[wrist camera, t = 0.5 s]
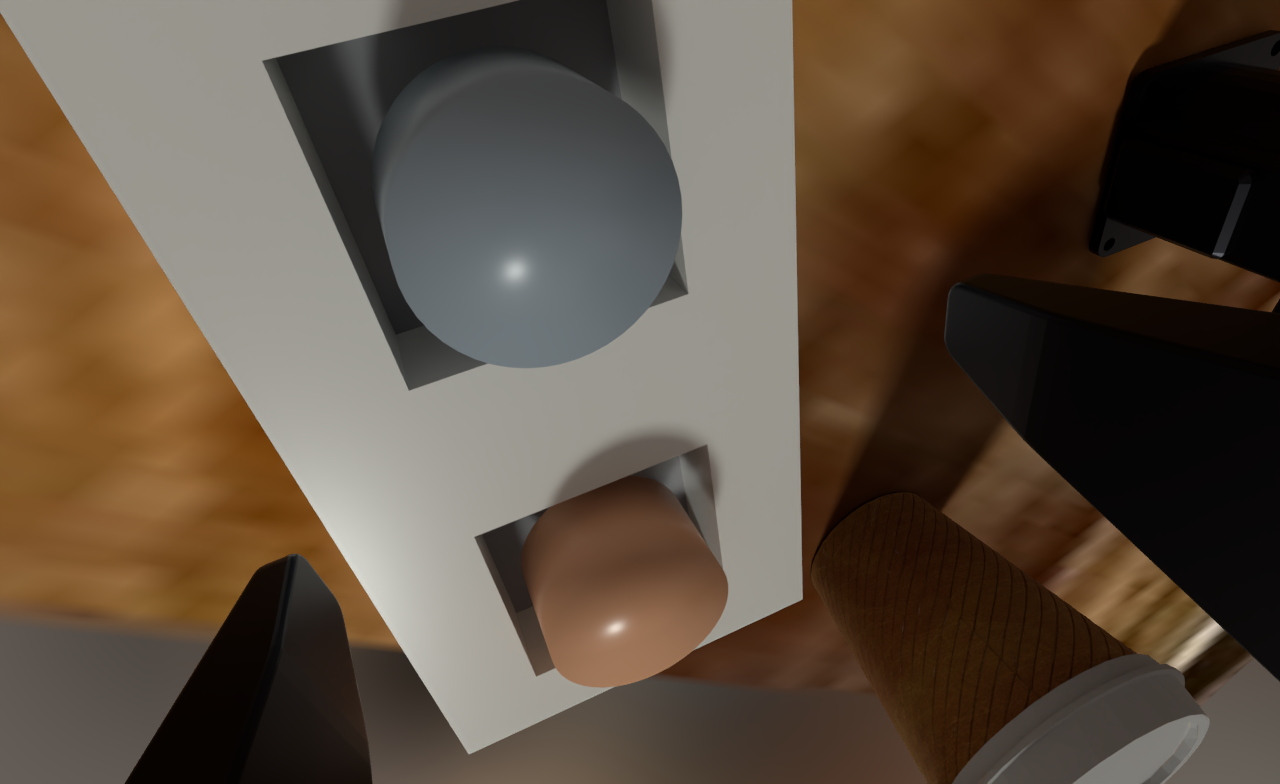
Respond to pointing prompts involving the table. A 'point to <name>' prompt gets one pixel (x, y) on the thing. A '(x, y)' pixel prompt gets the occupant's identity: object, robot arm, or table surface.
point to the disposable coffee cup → (994, 660)
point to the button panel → (401, 344)
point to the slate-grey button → (523, 207)
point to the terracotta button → (621, 582)
